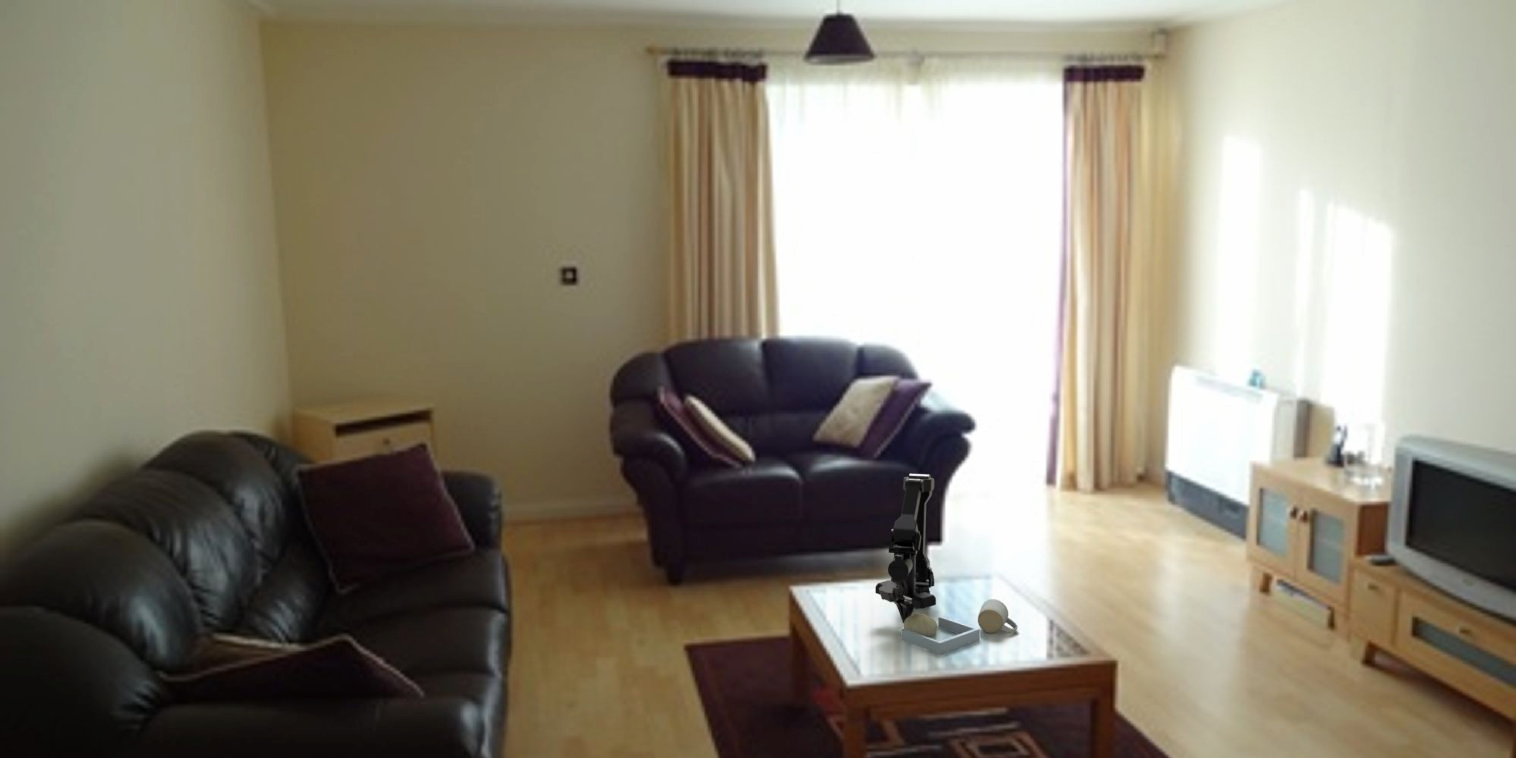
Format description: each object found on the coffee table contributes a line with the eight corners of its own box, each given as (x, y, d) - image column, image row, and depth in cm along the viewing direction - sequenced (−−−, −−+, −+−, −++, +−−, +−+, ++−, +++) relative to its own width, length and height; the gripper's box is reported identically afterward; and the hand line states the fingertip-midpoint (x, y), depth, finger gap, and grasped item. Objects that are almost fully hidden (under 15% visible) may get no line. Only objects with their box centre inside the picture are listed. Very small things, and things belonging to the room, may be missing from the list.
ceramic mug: (976, 633, 294) (977, 606, 293) (981, 623, 302) (981, 597, 301) (1015, 637, 291) (1016, 610, 290) (1019, 627, 298) (1019, 601, 297)
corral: (901, 639, 290) (901, 629, 290) (940, 626, 300) (940, 615, 300) (939, 654, 279) (939, 643, 279) (979, 639, 289) (979, 629, 289)
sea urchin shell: (932, 634, 288) (913, 611, 291) (913, 650, 292) (894, 627, 294) (945, 624, 296) (926, 601, 298) (926, 640, 300) (907, 617, 302)
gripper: (861, 567, 300) (861, 621, 302) (909, 583, 286) (909, 639, 287) (889, 560, 307) (889, 612, 309) (937, 575, 292) (937, 629, 294)
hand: (905, 623), depth 300 cm, fingers closed
